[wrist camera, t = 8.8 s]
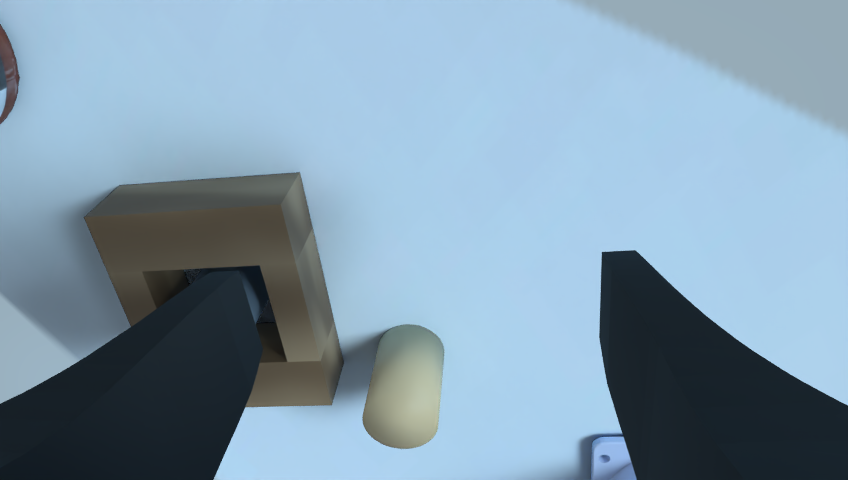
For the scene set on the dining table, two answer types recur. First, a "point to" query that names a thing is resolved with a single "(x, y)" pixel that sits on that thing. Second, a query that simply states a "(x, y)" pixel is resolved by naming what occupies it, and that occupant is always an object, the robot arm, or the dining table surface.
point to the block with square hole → (230, 247)
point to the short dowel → (405, 388)
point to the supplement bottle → (7, 76)
